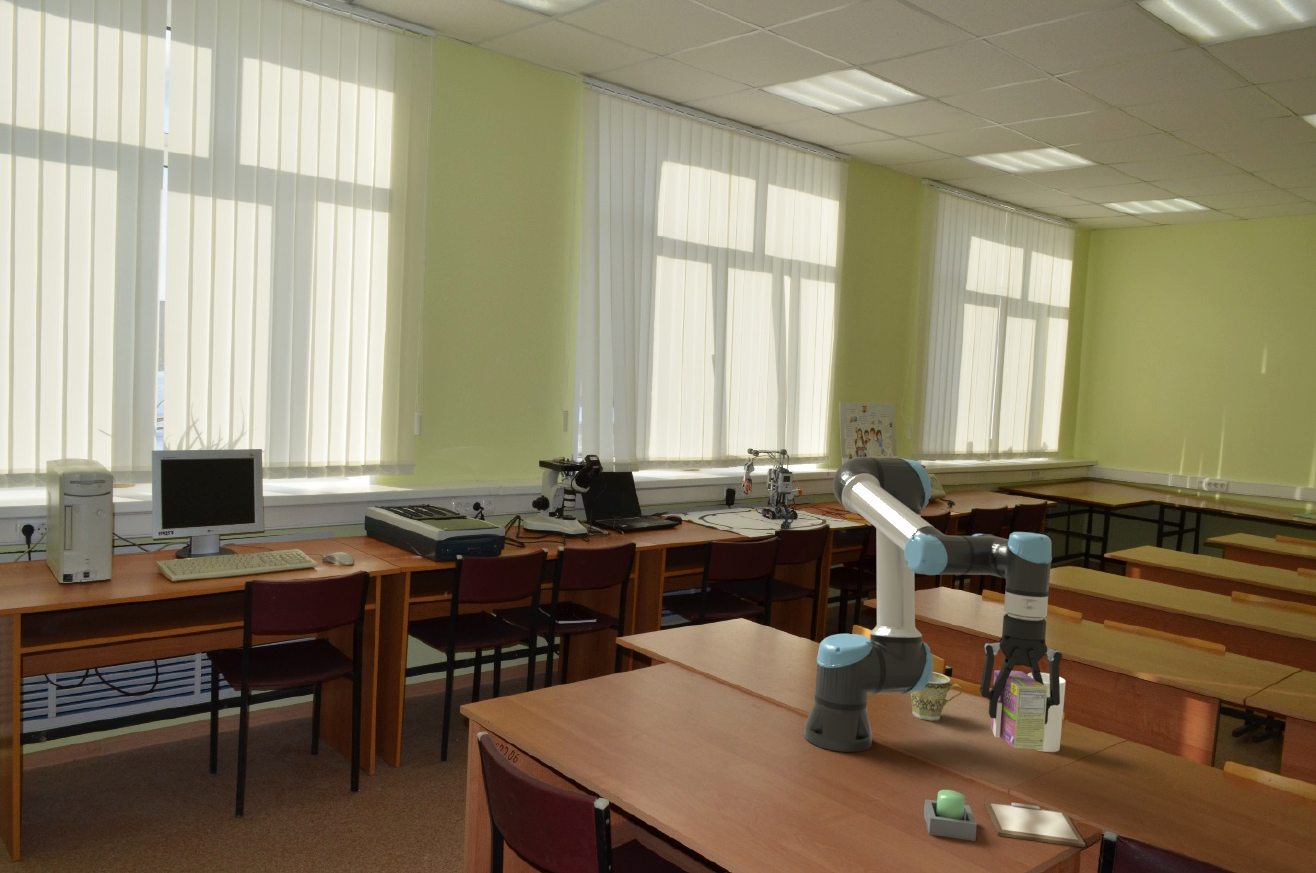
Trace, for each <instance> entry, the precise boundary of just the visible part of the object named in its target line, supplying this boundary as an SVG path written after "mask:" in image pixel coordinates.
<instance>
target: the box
mask: <svg viewBox="0 0 1316 873" xmlns="http://www.w3.org/2000/svg"><path fill="white" fill-rule="evenodd" d="M1000 670H1001V669H999V670H997V669H995V670H994V671H993V684H994V683H995V681H996V679H997V676H998V674H999V672H1000ZM999 699H1000V701H1001V703H1002V711H1001V725H1000V739H1002V740H1003V741H1004V742H1005V743H1006V744H1008V745H1009V746H1010V747H1011V748H1013V749H1015V750H1030V751H1031V750H1034V751H1038V750H1043V742H1044V728H1045V713H1046V699H1047V687H1046V686H1045V685H1043V684H1041V683H1040V682H1036V681H1035V680H1034V679H1033V678H1031V677H1030V676H1028V674H1026V673H1025V672H1024V671H1022V670H1021V671H1020V670H1019V671H1018V670H1012V671H1011V673H1010V675H1009V677H1008V679H1007V681H1006V684H1005V686H1004V688H1003V690H1002V692H1001V695H1000V697H999ZM990 721H991V724H990V726H991V727H990V730H991V731H992V732H993V725H994V718H991V720H990Z"/></svg>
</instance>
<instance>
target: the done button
mask: <svg viewBox="0 0 1316 873" xmlns="http://www.w3.org/2000/svg"><path fill="white" fill-rule="evenodd" d="M936 801H937V810H936V817H943V818H950V819H958V820H963V819H964V808H965V805H966V796H965V795H964V794H963V793H962V792H961V793H960V792H959V791H957V790H956V791H955V790H952V789H940V790H939V791H938V792H937V799H936Z"/></svg>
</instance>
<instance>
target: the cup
mask: <svg viewBox="0 0 1316 873" xmlns="http://www.w3.org/2000/svg"><path fill="white" fill-rule="evenodd" d="M1040 673H1041V676H1042V680H1043V684H1044V685H1045V686H1046V687H1047V697H1050V676H1049V673H1047V672H1040ZM1027 675H1028V676H1030V677H1031V678H1033V676H1032V672H1029V673H1028V674H1027ZM1066 682H1067V681H1066V679H1065V678H1063V677H1061V676H1059V685H1060V704H1059V705H1057V706H1056V705H1053V706H1050V708H1049V709H1048V722H1047V724H1045V728H1044V742H1043V750H1037V751H1039V752H1044V753H1045V752H1046V753H1056V752H1059V751H1060V750H1061V749H1060V747H1061V738H1062V737H1061V736H1062V726H1063V716H1064V715H1063V714H1064V704H1065V693H1066V692H1065V691H1066Z"/></svg>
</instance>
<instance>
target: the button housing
mask: <svg viewBox="0 0 1316 873" xmlns="http://www.w3.org/2000/svg"><path fill="white" fill-rule="evenodd" d="M923 806H924V807H923V808H924V809H923V817H924V820H925V825H926V829H927V833H928V835H930V836H937V837H938V836H939V837H945V838H952V839H960V840H966V841H975V842H976V838H977V828H978V827H977V826H978V824H977V821H976V820H975V816H974V814H973V812H972V808H971V807H970V805H969V804H965V808H964V819H963V820H958V819H950V818H943V817H936V810H937V800H932V799H924V805H923Z"/></svg>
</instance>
